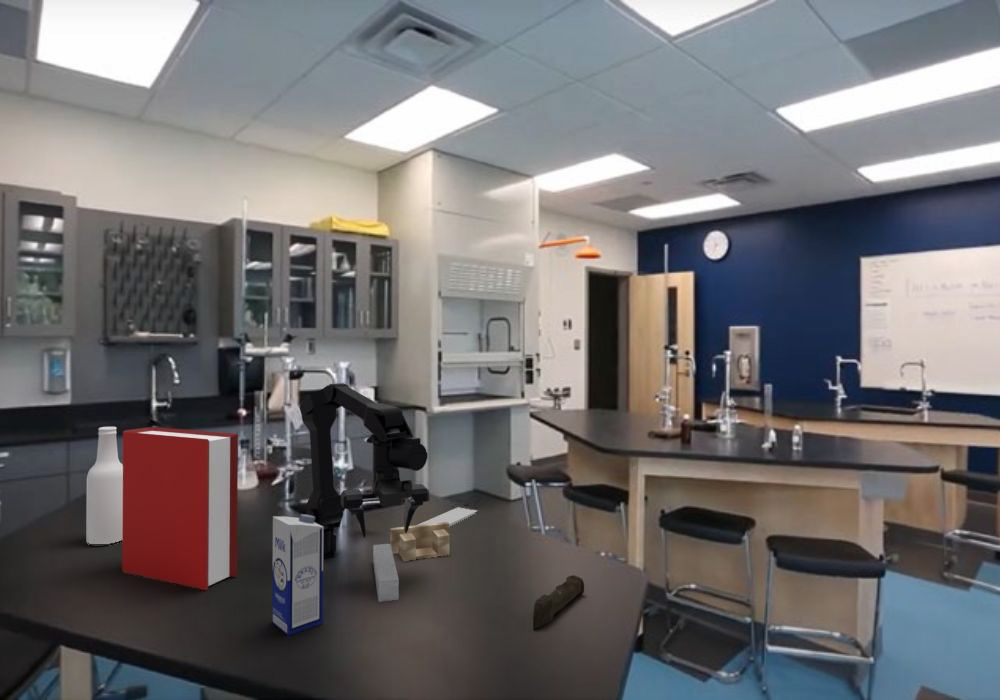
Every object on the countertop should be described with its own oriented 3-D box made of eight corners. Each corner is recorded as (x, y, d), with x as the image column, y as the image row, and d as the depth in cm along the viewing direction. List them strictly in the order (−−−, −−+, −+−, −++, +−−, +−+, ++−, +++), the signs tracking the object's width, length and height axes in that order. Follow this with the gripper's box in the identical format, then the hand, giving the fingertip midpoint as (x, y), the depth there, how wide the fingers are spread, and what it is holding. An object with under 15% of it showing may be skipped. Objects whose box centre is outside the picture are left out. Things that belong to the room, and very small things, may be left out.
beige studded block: (396, 562, 137) (396, 537, 137) (390, 552, 144) (390, 528, 144) (456, 554, 142) (456, 530, 142) (447, 544, 149) (447, 521, 149)
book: (236, 577, 127) (237, 433, 127) (206, 591, 120) (207, 439, 120) (150, 559, 138) (151, 426, 137) (118, 571, 130) (118, 431, 130)
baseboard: (389, 537, 157) (418, 544, 152) (389, 527, 157) (418, 533, 152) (451, 510, 183) (478, 515, 178) (451, 501, 183) (478, 506, 178)
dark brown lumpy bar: (567, 591, 122) (567, 569, 122) (584, 596, 119) (585, 573, 119) (520, 627, 106) (520, 602, 106) (539, 633, 104) (539, 607, 104)
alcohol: (134, 536, 154) (135, 425, 154) (109, 548, 145) (110, 430, 145) (104, 535, 155) (105, 424, 155) (77, 546, 146) (78, 429, 146)
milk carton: (271, 622, 107) (272, 515, 107) (306, 610, 111) (306, 508, 111) (288, 636, 102) (288, 523, 102) (323, 623, 106) (324, 516, 106)
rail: (378, 603, 115) (378, 581, 115) (373, 563, 137) (373, 544, 137) (398, 601, 117) (398, 579, 117) (390, 562, 138) (390, 543, 138)
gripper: (347, 475, 116) (346, 552, 116) (436, 468, 123) (435, 541, 123) (340, 464, 126) (340, 535, 126) (423, 459, 133) (422, 526, 133)
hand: (385, 534), depth 127 cm, fingers open, 9 cm apart
